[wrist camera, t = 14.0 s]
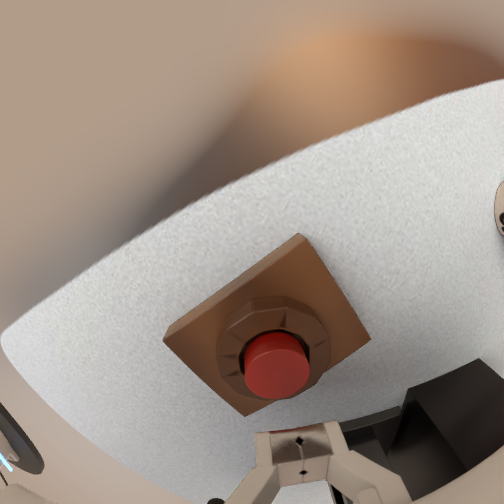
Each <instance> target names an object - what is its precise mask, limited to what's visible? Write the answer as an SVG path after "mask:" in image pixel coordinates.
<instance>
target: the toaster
mask: <svg viewBox="0 0 504 504" xmlns="http://www.w3.org/2000/svg"><path fill="white" fill-rule="evenodd" d="M402 411H403V413H404V414H403V417H402V420H401V423H400V425H399V428H398V431H397V433H396V436H395V438H394V441H393V443H392V446H391V448H390V450H389V453H388V455H387V458H388V460H389V462H390V464H391V466H392V469H393V471H394V473H395V474H397V475H399V476H400V477H401V479H402V481H403V483H404V485H405V487H406V489H407V491H408V493H409V495H410V497H411V499H412V502H413V501H415V500H417V499H420V498H422V497H424V496H426V495H428V494H430V493H432V492H434V491H435V490H437V489H439V488H441V487H443V486H445V485H446V484H448V483H450V482H452V481H453V480H455V479H457V478H458V477H460V476H461V475H463V474H465V473H466V472H468V471H469V470H471V469H472V468H474V467H475V466H477V465H478V464H480V463H481V462H482V461H484V460H485V459H487V458H488V457H489V456H491V455H492V454H493V453H495V452H496V451H497V450H498V449H500V448H501V447H502V446H503V445H504V379H503V378H502V377H501V376H499V375H498V374H497V373H496V372H495V371H494V370H492V369H491V368H490V367H489V366H488V365H487V364H485V363H484V362H483V361H482V360H481V359H477V360H475V361H473V362H471V363H469V364H467V365H465V366H462V367H460V368H458V369H456V370H454V371H452V372H449V373H447V374H445V375H443V376H440V377H438V378H435V379H433V380H431V381H428V382H426V383H423V384H420V385H418V386H415V387H412V388H410V389H408V391H407V395H406V398H405V401H404V404H403V408H402Z"/></svg>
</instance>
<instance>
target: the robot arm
mask: <svg viewBox="0 0 504 504" xmlns="http://www.w3.org/2000/svg"><path fill="white" fill-rule="evenodd" d="M269 434H270V435H269ZM255 450H256V467H254V468H252V469H251V470H250V472H249V473H248V474H247V476H246V477H245V478H244V479H243V481H242V482H241V483H240V484H239V486H238V487H237V488H236V489H235V491H234V492H233V493H232V494H231V496H230V497H229V498H228V499H227V500H226V502H225V503H224V504H271V503H272V502H273V500H274V498H275V497H276V495H277V493H278V491H279V490H280V487H283V486H290V485H296V484H301V483H307V482H313V481H319V480H324V479H326V481H328V482H329V483H330V484H331V485H333V486H334V487H335V488H336V489H337V490H339V491H340V492H341V493H343V494H344V495H345V496H346V497H348V498H349V499H350V500H352V501H353V504H504V445H503V446H502V447H501V448H500V449H498V450H497V451H496V452H495V453H493V454H492V455H491V456H489V457H488V458H487V459H485V460H484V461H482V462H481V463H480V464H478V465H477V466H475V467H474V468H472V469H471V470H469V471H468V472H466V473H465V474H463V475H461V476H460V477H458V478H457V479H455V480H453V481H452V482H450V483H448V484H446V485H445V486H443V487H441V488H439V489H437V490H435V491H434V492H432V493H430V494H428V495H426V496H424V497H422V498H420V499H417V500H415V501H413V502H412V499H411V497H410V495H409V493H408V491H407V489H406V487H405V485H404V483H403V481H402V479H401V477H400V476H399V475H397V474H395V473H393V472H391V471H389V470H387V469H386V468H384V467H382V466H380V465H378V464H376V463H375V462H373V461H371V460H369V459H367V458H366V457H364V456H362V455H361V454H359V453H357V452H355V451H354V450H351V451H349V449H348V446H347V444H346V441H345V439H344V436H343V434H342V431H341V429H340V426H339V423H338V421H337V420H333V421H329V422H324V423H318V424H313V425H308V426H303V427H297V428H294V429H286V430H278V431H268V432H258V433H255ZM7 459H9V460H13V461H17V462H18V460H19V459H20V458H19V456H18V455H17V454H16V453H15V451H14V450H13V449H12V447H11V446H10V444H9V442H8V440H7V439H6V437H5V436H4V434H3V433H2V432H1V430H0V469H1V468H2V466H3V465H4V464H5V465H6V466H7V468H8V469H9V470H10V471H12V468H11V467H10V466H9V464H8V463H7V462H6V461H7ZM0 475H1V477H2V479H3V480H4V482H5V484H6V486H5V487H3V488H0V504H57V503H54V502H52V501H50V500H48V499H46V498H44V497H42V496H40V495H38V494H36V493H34V492H32V491H30V490H29V489H27V488H25V487H23V486H21V485H19V484H12V485H8V484H7V482H6V480H5V478H4V477H3V475H2V473H1V472H0Z"/></svg>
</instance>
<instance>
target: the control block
mask: <svg viewBox="0 0 504 504" xmlns="http://www.w3.org/2000/svg"><path fill="white" fill-rule="evenodd" d="M270 332H283V333H287V334H290V335H292V336H293V337H295V338H296V339H297V340H298V341H299V342H300V343H301V345H302V347H303V350H304V352H305V355H306V357H307V360H308V363H309V366H310V376H309V379H308V381H307V383H306V384H305V385H304V387H303V388H302V389H300V390H299V391H298V392H296V393H295V394H293V395H291V396H288V397H285V398H279V399H269V398H264V397H261V396H258V395H256V394H255V393H253V392H252V391H251V390H250V389H249V387H248V386H247V384H246V381H245V366H244V355H245V351H246V349H247V347H248V345H249V344H250V343H251V342H252V341H253V340H254V339H256V338H257V337H259V336H261V335H263V334H266V333H270ZM370 340H371V338H370V336H369V334H368V333H367V331H366V329H365V328H364V326H363V324H362V323H361V321H360V320H359V318H358V316H357V315H356V313H355V312H354V310H353V308H352V307H351V305H350V304H349V302H348V300H347V299H346V297H345V296H344V294H343V293H342V291H341V290H340V288H339V286H338V285H337V283H336V282H335V280H334V279H333V277H332V276H331V274H330V273H329V271H328V270H327V268H326V267H325V265H324V264H323V262H322V261H321V259H320V258H319V256H318V255H317V253H316V252H315V250H314V249H313V247H312V246H311V244H310V243H309V242H308V240H307V239H306V238H305V237H304V236H302V235H301V234H299V233H297V234H296V235H295V236H293V237H292V238H291V239H289V240H288V241H287V242H285V243H284V244H283V245H281V246H280V247H278V248H277V249H276V250H274V251H273V252H272V253H270V254H269V255H267V256H266V257H265V258H263V259H262V260H261V261H259V262H258V263H257V264H255V265H254V266H252V267H251V268H250V269H248V270H247V271H246V272H244V273H243V274H241V275H240V276H239V277H237V278H236V279H234V280H233V281H232V282H230V283H229V284H228V285H226V286H225V287H223V288H222V289H221V290H219V291H218V292H216V293H215V294H214V295H212V296H211V297H209V298H208V299H207V300H205V301H204V302H202V303H201V304H200V305H198V306H197V307H196V308H194V309H193V310H191V311H190V312H188V313H187V314H186V315H184V316H183V317H181V318H180V319H179V320H177V321H176V322H174V323H173V324H172V325H170V326H169V328H168V330H167V332H166V334H165V336H164V338H163V342H164V343H165V344H166V345H167V346H168V347H169V348H170V349H171V350H172V351H173V352H174V353H175V354H176V355H177V356H178V357H179V358H180V359H181V360H182V361H183V362H184V363H185V364H186V365H187V366H188V367H189V368H190V369H191V370H192V371H193V372H194V373H195V374H196V375H197V376H198V377H199V378H200V379H201V380H203V381H204V382H205V383H206V384H207V385H208V386H209V387H210V388H211V389H212V390H214V391H215V392H216V393H217V394H218V395H219V396H220V397H222V398H223V399H224V400H225V401H226V402H227V403H228V404H230V405H231V406H232V407H233V408H234V409H236V410H237V411H238V412H239V413H241V414H242V415H243V416H244V417H246V416H248V415H250V414H252V413H254V412H256V411H258V410H260V409H262V408H264V407H266V406H268V405H269V404H271V403H273V402H275V401H277V400H282V399H289V398H292V397H295V396H296V395H298V394H300V393H302V392H303V391H305V390H307V389H308V388H310V387H312V386H313V385H315V384H316V383H317V381H318V380H319V379H320V377H321V376H322V374H323V373H324V372H326V371H327V370H329V369H330V368H332V367H333V366H335V365H336V364H338V363H339V362H341V361H342V360H344V359H345V358H346V357H348V356H349V355H351V354H352V353H354V352H355V351H356V350H358V349H359V348H360V347H362V346H363V345H365V344H366V343H367V342H369V341H370Z"/></svg>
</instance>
